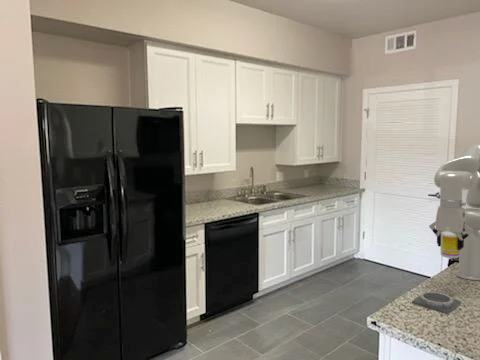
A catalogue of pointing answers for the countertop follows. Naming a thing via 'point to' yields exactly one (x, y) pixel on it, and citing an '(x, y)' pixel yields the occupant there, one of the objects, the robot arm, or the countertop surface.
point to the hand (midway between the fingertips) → (449, 247)
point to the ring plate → (444, 310)
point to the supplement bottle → (449, 244)
